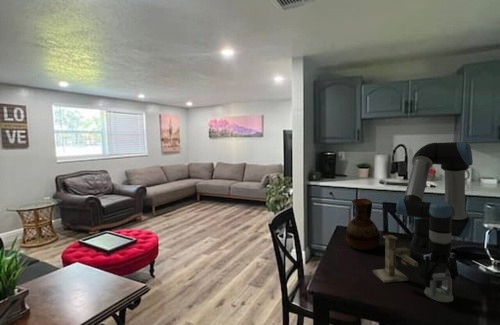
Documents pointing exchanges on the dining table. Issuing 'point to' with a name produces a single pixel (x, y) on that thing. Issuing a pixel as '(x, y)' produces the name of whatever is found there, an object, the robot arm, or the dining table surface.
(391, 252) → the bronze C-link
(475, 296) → the dining table surface
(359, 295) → the dining table surface
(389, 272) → the peg stand
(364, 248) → the ceramic pitcher
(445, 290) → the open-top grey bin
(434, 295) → the felt pad
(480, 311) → the dining table surface
